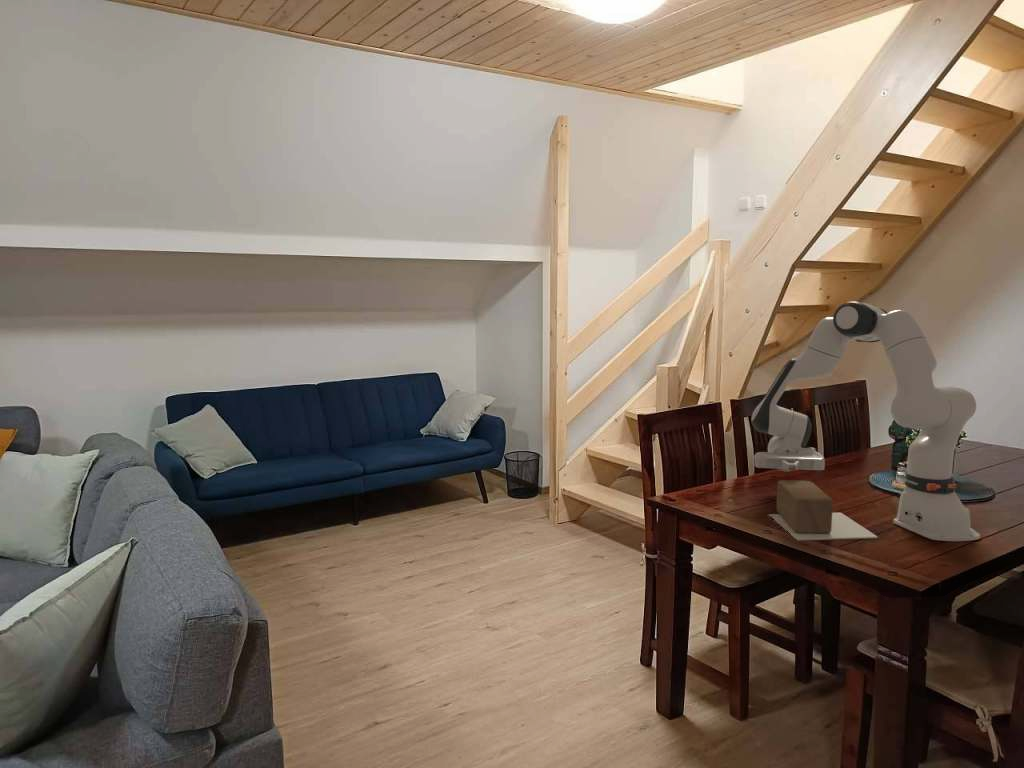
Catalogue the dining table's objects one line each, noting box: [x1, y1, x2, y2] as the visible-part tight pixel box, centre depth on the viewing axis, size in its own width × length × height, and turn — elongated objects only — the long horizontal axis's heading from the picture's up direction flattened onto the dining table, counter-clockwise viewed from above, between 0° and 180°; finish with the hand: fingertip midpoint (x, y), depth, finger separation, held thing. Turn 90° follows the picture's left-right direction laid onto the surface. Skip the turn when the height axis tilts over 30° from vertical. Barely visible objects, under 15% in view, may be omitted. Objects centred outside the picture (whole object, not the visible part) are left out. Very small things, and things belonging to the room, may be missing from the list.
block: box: [776, 479, 834, 533], centre depth 210 cm, size 10×10×20 cm
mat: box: [767, 512, 879, 541], centre depth 208 cm, size 21×22×1 cm
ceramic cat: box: [887, 419, 914, 469], centre depth 264 cm, size 20×6×20 cm, turn 37°
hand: (792, 467), depth 219 cm, fingers closed
